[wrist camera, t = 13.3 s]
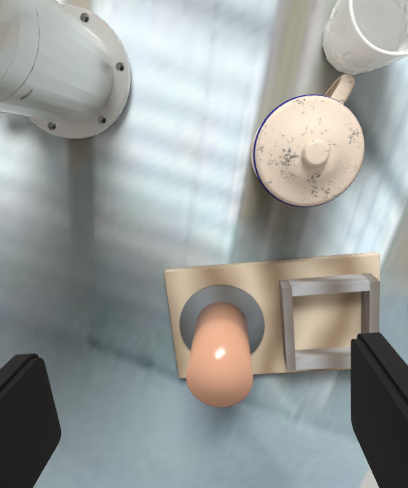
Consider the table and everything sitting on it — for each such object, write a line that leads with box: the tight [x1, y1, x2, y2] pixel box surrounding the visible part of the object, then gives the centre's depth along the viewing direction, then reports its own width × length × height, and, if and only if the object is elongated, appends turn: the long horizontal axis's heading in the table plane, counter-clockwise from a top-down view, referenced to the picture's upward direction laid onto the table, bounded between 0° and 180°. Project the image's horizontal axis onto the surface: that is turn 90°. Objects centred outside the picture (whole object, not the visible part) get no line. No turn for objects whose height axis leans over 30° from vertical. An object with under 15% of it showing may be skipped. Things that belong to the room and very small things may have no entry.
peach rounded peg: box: [186, 302, 253, 407], centre depth 37 cm, size 8×6×10 cm
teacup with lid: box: [250, 74, 364, 207], centre depth 32 cm, size 12×9×12 cm
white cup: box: [322, 0, 408, 75], centre depth 30 cm, size 8×8×10 cm
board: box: [164, 252, 380, 378], centre depth 41 cm, size 24×14×4 cm, turn 96°
